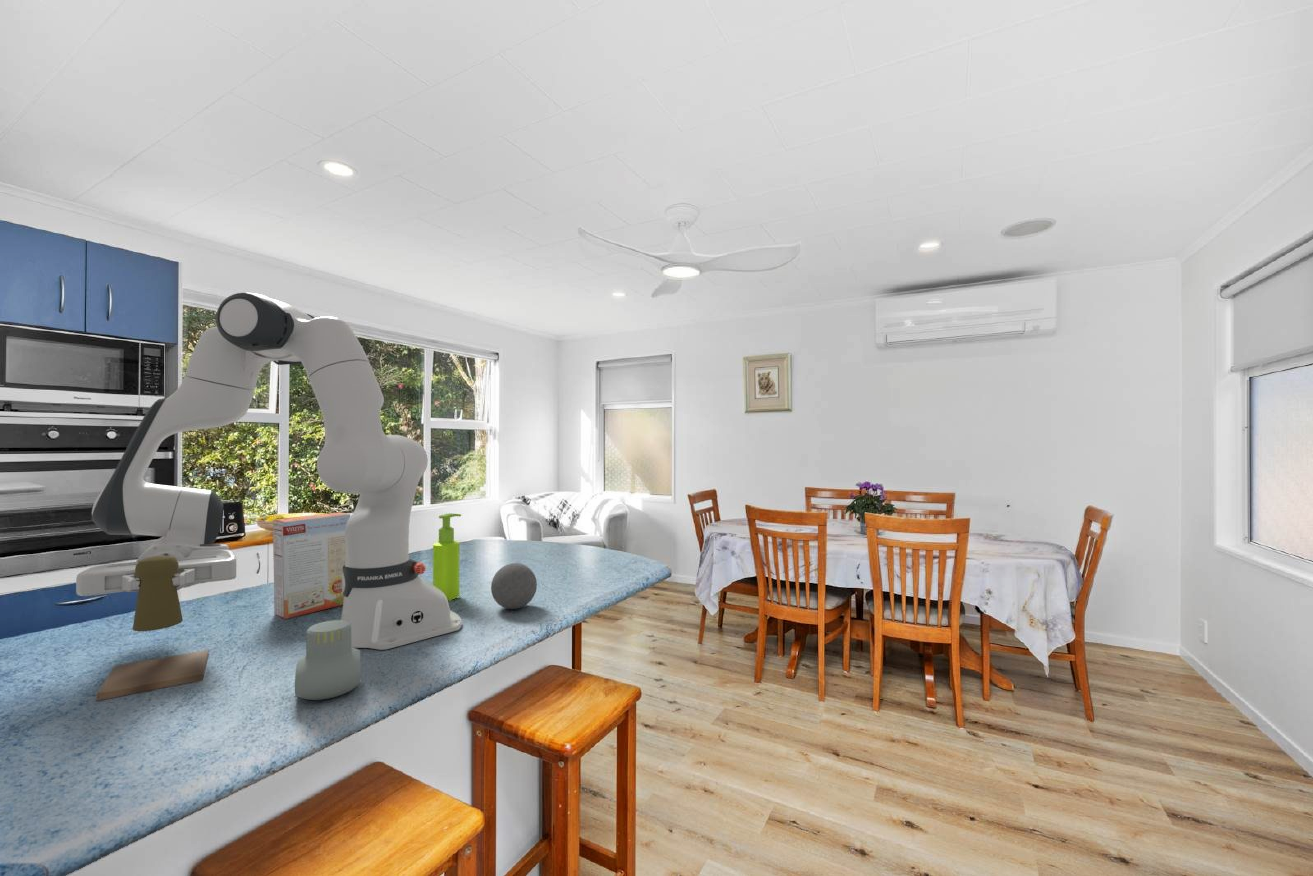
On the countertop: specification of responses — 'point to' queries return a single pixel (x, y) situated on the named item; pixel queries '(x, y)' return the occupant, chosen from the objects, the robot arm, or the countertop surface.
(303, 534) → the cracker box
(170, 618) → the cork
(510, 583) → the decorative ball
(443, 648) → the countertop surface
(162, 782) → the countertop surface
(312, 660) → the air freshener
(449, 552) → the soap dispenser
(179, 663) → the walnut board
